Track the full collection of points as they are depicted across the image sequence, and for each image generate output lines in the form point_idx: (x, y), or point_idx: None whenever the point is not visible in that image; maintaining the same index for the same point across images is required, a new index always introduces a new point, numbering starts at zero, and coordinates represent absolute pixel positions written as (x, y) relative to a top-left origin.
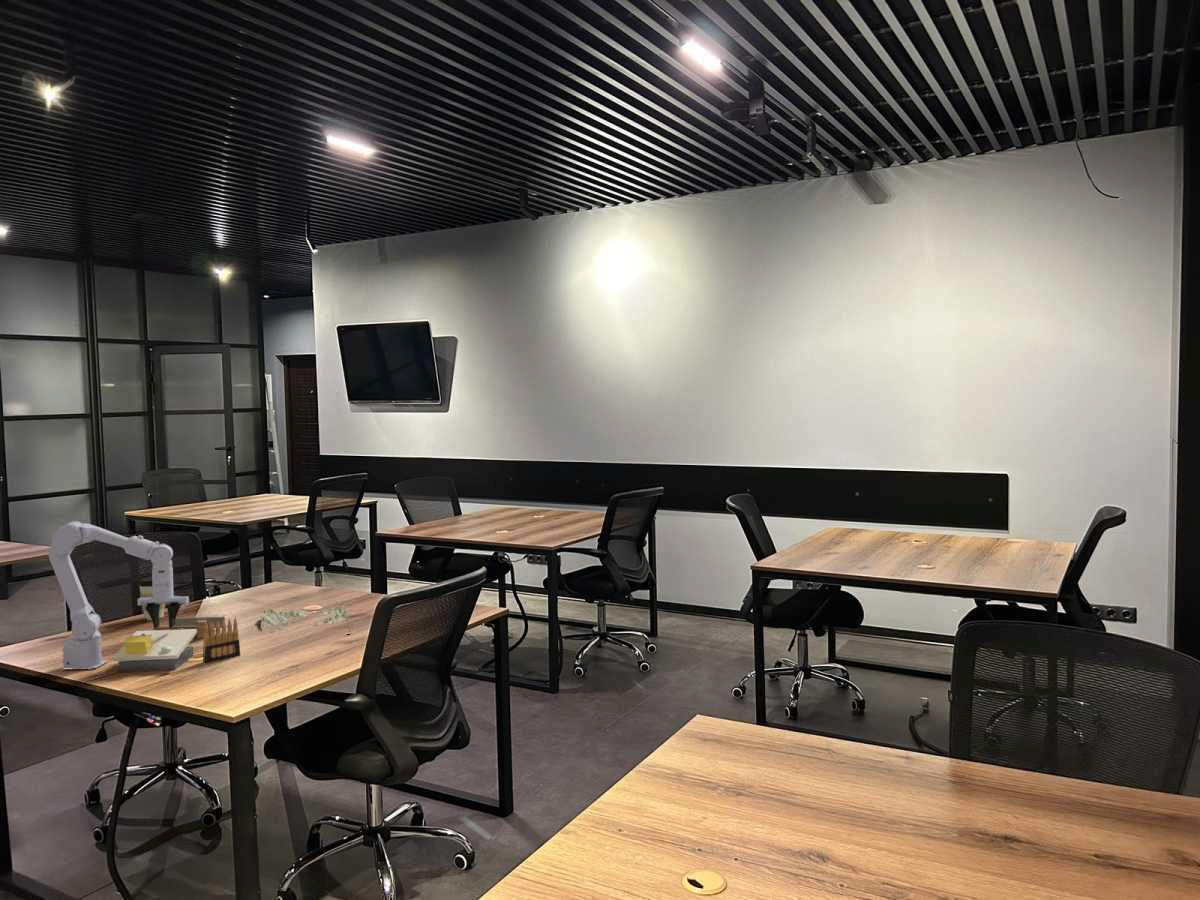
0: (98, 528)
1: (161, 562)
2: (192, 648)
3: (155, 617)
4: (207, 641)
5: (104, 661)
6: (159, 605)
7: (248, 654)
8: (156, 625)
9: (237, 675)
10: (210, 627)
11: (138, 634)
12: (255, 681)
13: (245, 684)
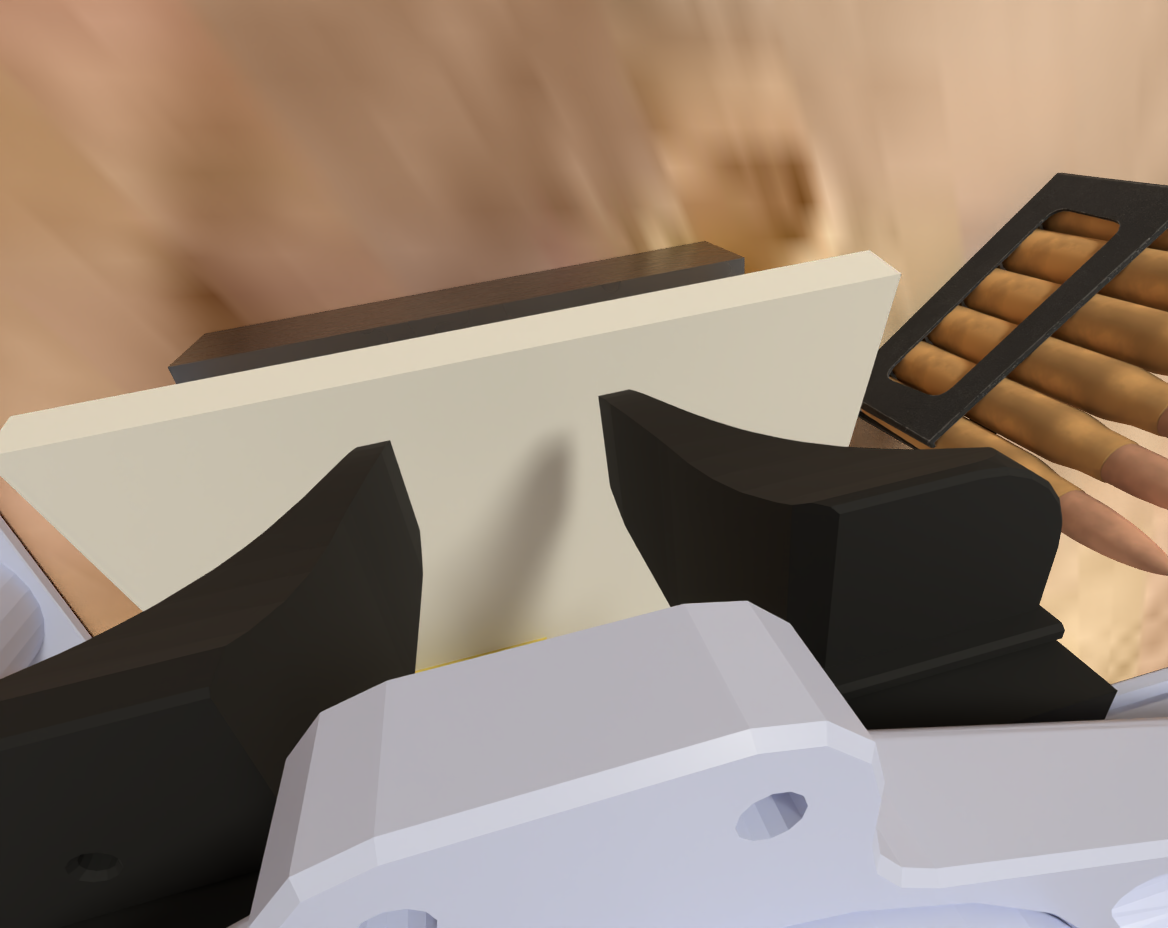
0: None
1: None
2: (738, 274)
3: (404, 659)
4: None
5: None
6: (276, 670)
7: (1135, 169)
8: (419, 550)
9: (1066, 589)
10: (1154, 502)
11: (147, 522)
12: (1137, 639)
13: (1098, 673)
